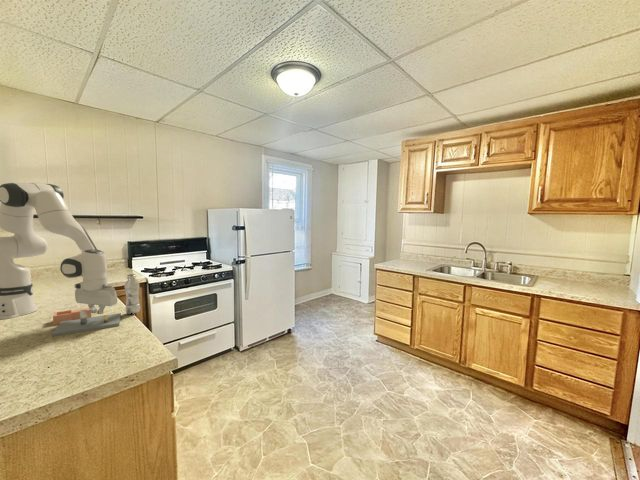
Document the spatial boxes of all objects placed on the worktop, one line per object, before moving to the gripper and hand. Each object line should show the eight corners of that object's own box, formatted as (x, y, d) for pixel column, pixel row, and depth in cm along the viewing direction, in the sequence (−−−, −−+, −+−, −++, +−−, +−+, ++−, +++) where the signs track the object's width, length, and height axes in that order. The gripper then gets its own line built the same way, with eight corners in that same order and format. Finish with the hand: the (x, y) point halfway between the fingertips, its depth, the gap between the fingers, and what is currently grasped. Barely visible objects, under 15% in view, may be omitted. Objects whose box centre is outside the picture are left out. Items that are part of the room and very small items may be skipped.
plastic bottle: (124, 316, 136) (122, 276, 134) (126, 312, 142) (125, 274, 140) (139, 314, 139) (138, 275, 137) (141, 310, 145) (139, 273, 143)
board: (52, 337, 112) (52, 333, 112) (61, 324, 124) (61, 321, 124) (119, 326, 124) (118, 323, 124) (120, 316, 136) (120, 313, 136)
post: (79, 324, 121) (78, 311, 121) (82, 322, 123) (81, 309, 123) (106, 323, 124) (105, 310, 123) (108, 321, 126) (108, 308, 125)
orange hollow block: (53, 325, 124) (52, 316, 124) (54, 320, 129) (54, 312, 129) (91, 318, 132) (90, 310, 132) (91, 314, 137) (90, 306, 137)
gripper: (120, 284, 128) (121, 313, 129) (85, 281, 132) (86, 309, 133) (107, 287, 122) (109, 317, 123) (71, 284, 126) (72, 313, 127)
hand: (97, 313), depth 128 cm, fingers closed
